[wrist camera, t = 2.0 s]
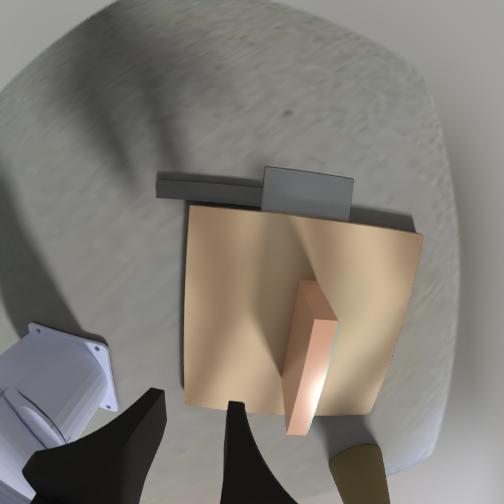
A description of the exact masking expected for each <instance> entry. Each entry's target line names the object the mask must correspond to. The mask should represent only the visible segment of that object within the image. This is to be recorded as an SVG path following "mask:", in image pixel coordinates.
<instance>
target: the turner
mask: <svg viewBox="0 0 504 504" xmlns="http://www.w3.org/2000/svg"><path fill="white" fill-rule="evenodd" d="M353 184H354V179H348V178H342V177H336V176H330V175H323V174H317V173H310V172H303V171H295V170H287V169H279V168H270V167H266V168H265V177H264V186H263V188H258V187H248V186H238V185H227V184H215V183H202V182H188V181H172V180H157V193H156V198H168V199H181V200H194V201H206V202H217V203H228V204H238V205H248V206H258V207H261V211H267V212H276V213H285V214H293V215H301V216H309V217H317V218H324V219H332V220H339V221H346V222H349V216H350V208H351V201H352V193H353Z"/></svg>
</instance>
